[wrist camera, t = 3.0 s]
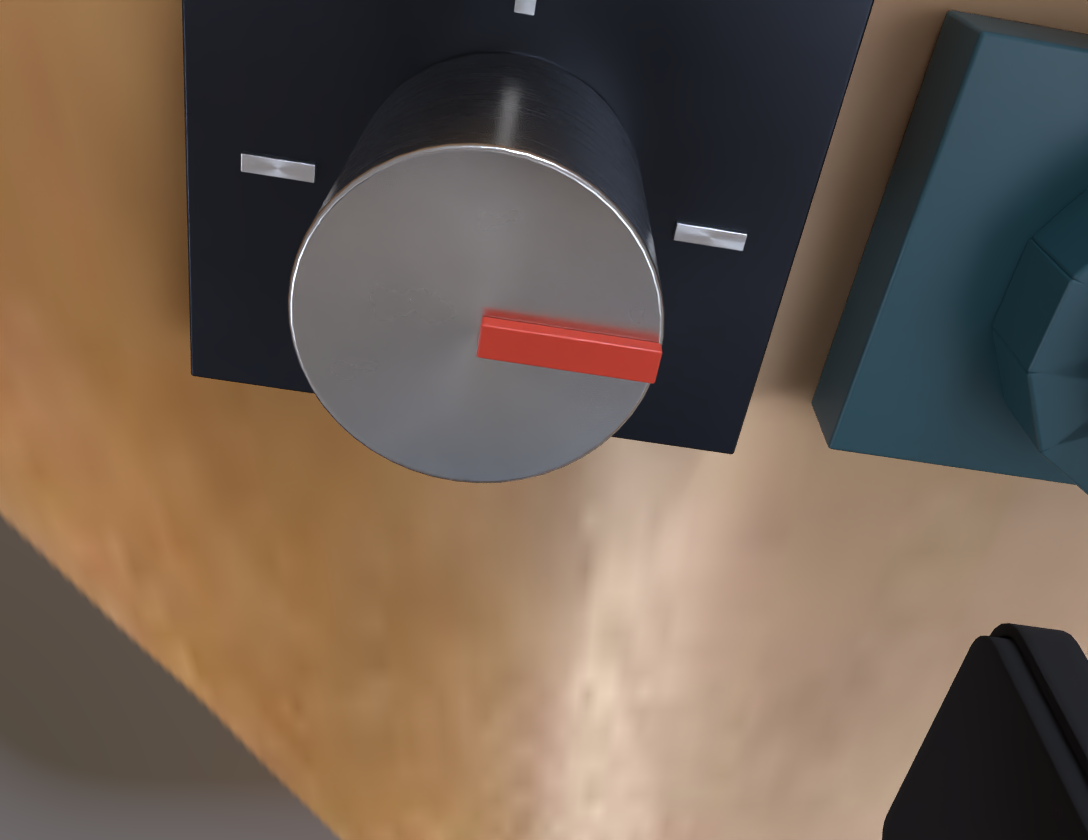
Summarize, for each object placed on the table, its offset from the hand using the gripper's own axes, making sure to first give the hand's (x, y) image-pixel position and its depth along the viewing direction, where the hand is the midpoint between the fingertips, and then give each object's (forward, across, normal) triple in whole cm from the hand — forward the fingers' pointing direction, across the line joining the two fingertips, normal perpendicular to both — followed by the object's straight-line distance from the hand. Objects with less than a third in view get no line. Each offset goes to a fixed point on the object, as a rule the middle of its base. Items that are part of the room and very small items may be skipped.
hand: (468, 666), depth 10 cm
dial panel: (+14, +1, 0) cm, 14 cm away
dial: (+12, +1, 0) cm, 12 cm away
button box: (+14, -13, 0) cm, 20 cm away
